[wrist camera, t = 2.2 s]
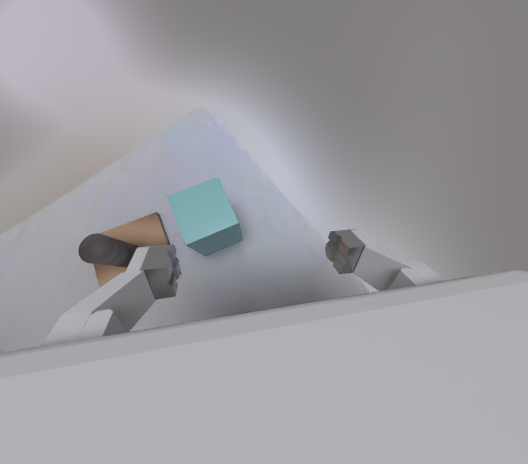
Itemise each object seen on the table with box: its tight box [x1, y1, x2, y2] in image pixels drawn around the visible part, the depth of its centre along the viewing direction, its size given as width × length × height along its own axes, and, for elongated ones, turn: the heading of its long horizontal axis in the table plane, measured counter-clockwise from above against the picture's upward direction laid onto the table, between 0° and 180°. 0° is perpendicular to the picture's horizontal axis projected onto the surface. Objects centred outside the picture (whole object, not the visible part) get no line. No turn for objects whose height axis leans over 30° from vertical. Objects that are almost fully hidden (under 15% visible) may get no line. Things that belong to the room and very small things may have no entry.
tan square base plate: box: [79, 212, 181, 287], centre depth 25 cm, size 10×10×8 cm
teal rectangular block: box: [167, 177, 242, 256], centre depth 26 cm, size 6×6×9 cm
